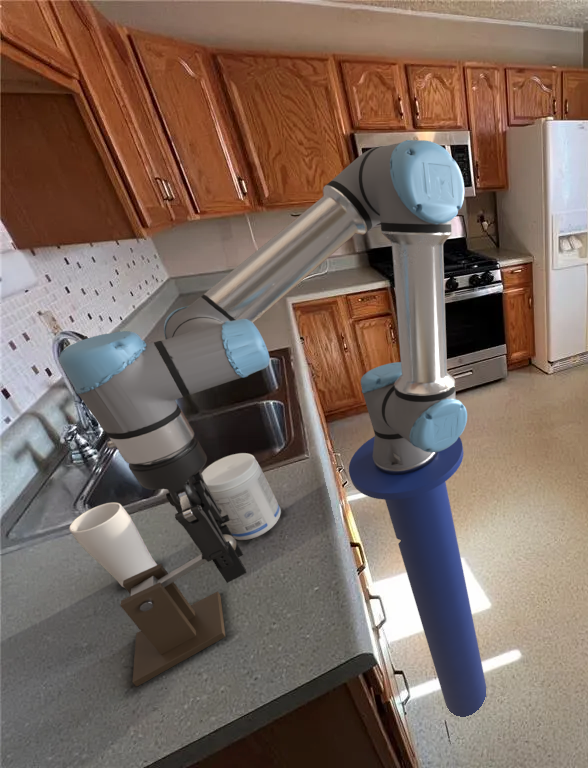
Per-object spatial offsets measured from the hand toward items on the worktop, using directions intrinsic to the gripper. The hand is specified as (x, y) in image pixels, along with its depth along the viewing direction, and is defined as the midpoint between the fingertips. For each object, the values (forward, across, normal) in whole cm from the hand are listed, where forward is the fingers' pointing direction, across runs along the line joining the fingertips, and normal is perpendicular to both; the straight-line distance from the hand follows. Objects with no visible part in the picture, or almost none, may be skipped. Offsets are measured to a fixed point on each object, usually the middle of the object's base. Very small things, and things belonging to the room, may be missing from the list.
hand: (235, 566), depth 65 cm
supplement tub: (+8, -19, +3) cm, 21 cm away
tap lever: (-2, 0, -5) cm, 5 cm away
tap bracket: (+8, 0, -10) cm, 13 cm away
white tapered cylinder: (+8, -19, -16) cm, 26 cm away
